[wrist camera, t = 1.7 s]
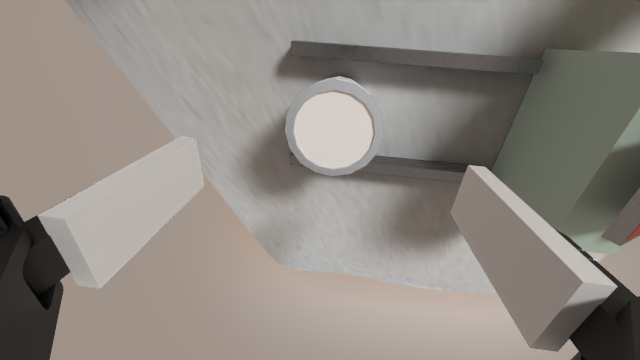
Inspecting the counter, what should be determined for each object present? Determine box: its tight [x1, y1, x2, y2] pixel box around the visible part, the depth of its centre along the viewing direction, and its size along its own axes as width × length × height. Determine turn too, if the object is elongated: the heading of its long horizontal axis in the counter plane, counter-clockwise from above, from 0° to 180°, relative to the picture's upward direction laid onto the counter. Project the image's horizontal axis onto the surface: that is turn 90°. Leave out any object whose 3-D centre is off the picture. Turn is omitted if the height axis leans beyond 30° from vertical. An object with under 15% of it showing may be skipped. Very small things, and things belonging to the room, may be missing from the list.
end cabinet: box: [491, 49, 640, 254], centre depth 18 cm, size 12×4×10 cm, turn 176°
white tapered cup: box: [285, 76, 384, 176], centre depth 20 cm, size 7×7×7 cm
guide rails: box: [290, 41, 544, 183], centre depth 22 cm, size 10×18×2 cm, turn 86°
